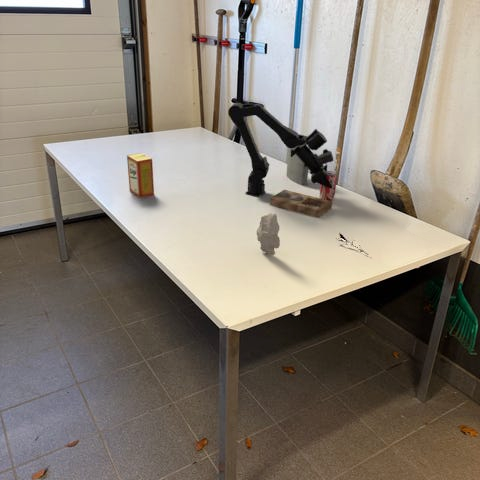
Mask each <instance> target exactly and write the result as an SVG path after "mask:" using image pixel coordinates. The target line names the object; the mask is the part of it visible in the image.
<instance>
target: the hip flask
mask: <svg viewBox="0 0 480 480" xmlns="http://www.w3.org/2000/svg"><path fill="white" fill-rule="evenodd" d="M301 146H302V145H301ZM287 148H288V147H287ZM295 148H296V147H295ZM295 148H288V150H287V152H288V153H287V164H286V173H285V174H286V177H287V178H288V179H289V180H290V181H292V182H293V183H296V184H297V185H299V186H302V187H306V186H308V178H309V177H308V174H309V169H308V168H307V167H304V164H303V162H302V161H301V160H300V159H299V158H298V157H297V156H296V154H295V155H294V156H292V157H291V149H295ZM308 148H309V147H308ZM309 149H310V148H309ZM310 150H311V149H310Z"/></svg>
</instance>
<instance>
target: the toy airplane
mask: <svg viewBox="0 0 480 480" xmlns="http://www.w3.org/2000/svg"><path fill="white" fill-rule="evenodd" d="M338 235H339V238H340V239H341V240H343V241H342V242H344V241H345V242H346V243H345V242H344V243H345V244H347V243H348V244H350V245H351V246H353V247H355V248H357V249H358V250H360V251H361V252H364V253H365V254H367V255H369V253H367V252H366V251H365V250H363V249H362V248H361V249H359V248H358V247H356V246H354V245H353V244H352V242H349V240H347V238H346V237H345V236H344V235H343V234H342V233H340V232H338ZM348 244H347V245H348ZM361 252H360V253H361Z"/></svg>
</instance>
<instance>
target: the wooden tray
mask: <svg viewBox="0 0 480 480" xmlns="http://www.w3.org/2000/svg"><path fill="white" fill-rule="evenodd" d="M269 205H270V206H271V207H272V206H274V207H277V208H280V209H284V210H288V211H292V212H296V213H299V214H303V215H306V216H310V217H314V218H317V219H320V218H321V217H323V216H324V215H325V214H326V213H327V212H329V211H330V210H331V209H332V208H333V207H332V206H333V201H328V200H324V199H320V197H316V196H311V195H308V194H307V195H306V194H303V193H299V192H297V191H290V190H287V189H283V190H281V191H279V192H278V193H276V194H275V195H273V196H271V197H270V198H269Z"/></svg>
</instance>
